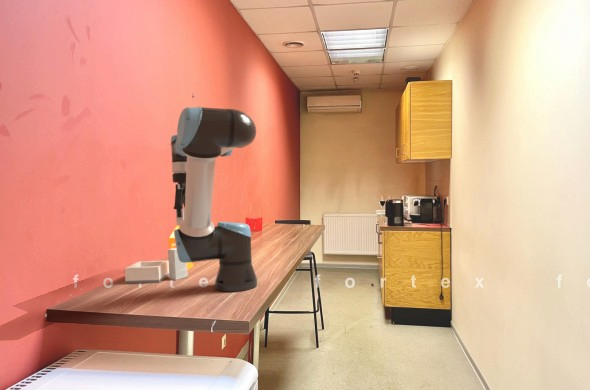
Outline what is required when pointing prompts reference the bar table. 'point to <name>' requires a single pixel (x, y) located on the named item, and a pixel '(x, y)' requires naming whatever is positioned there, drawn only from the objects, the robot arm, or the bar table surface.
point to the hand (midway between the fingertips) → (184, 224)
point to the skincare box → (176, 266)
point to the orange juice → (173, 245)
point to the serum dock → (147, 272)
